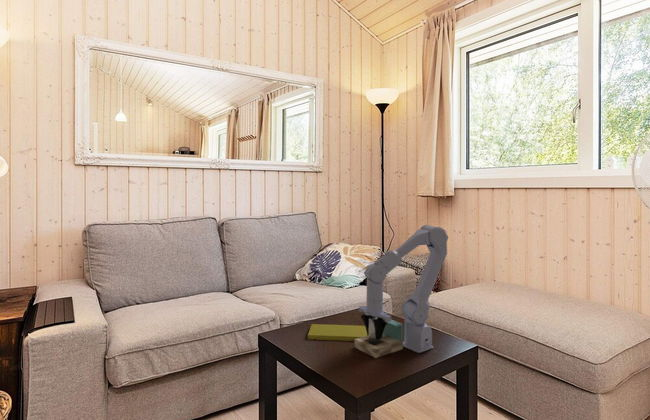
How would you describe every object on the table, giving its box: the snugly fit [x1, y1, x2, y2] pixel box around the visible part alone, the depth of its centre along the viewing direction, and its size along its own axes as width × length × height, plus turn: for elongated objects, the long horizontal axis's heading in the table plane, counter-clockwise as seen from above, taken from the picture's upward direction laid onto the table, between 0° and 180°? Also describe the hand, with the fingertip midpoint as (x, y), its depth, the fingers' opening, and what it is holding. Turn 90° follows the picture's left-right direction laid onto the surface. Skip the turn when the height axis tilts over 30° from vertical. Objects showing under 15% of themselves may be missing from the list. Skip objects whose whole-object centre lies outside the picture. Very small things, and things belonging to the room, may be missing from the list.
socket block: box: [354, 334, 404, 359], centre depth 142 cm, size 11×13×3 cm
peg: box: [368, 317, 380, 345], centre depth 140 cm, size 4×4×9 cm
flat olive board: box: [307, 323, 368, 342], centre depth 155 cm, size 12×2×24 cm
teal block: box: [383, 318, 404, 342], centre depth 144 cm, size 11×4×6 cm, turn 35°
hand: (374, 336), depth 141 cm, fingers closed on peg, 4 cm apart
